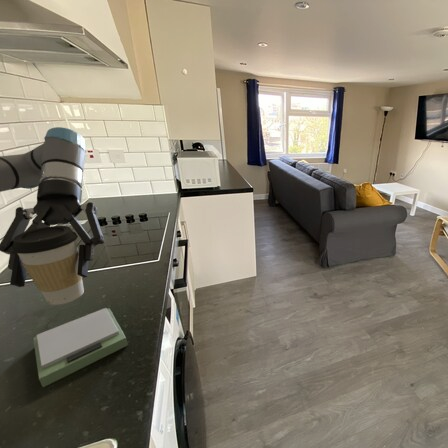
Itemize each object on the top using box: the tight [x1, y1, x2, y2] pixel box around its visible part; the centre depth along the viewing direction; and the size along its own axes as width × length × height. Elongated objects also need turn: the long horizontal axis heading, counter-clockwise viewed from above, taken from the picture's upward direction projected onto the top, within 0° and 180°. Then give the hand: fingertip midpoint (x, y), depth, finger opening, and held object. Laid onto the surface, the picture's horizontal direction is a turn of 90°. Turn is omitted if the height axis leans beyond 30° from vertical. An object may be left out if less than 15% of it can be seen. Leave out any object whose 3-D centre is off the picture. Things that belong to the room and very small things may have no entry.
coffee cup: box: [12, 225, 85, 306], centre depth 55 cm, size 10×10×15 cm
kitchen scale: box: [32, 307, 129, 388], centre depth 61 cm, size 15×15×3 cm
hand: (51, 280), depth 53 cm, fingers closed on coffee cup, 10 cm apart
